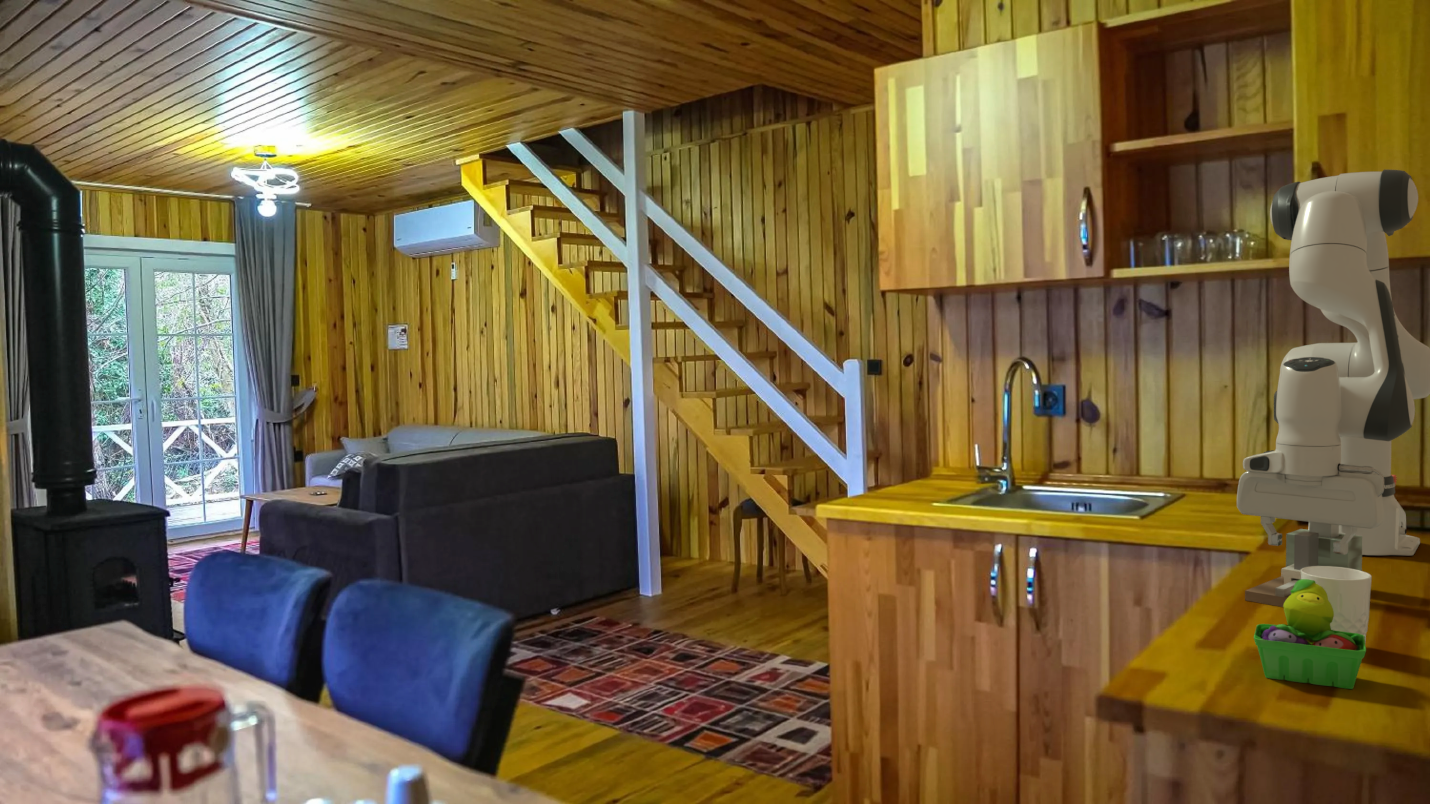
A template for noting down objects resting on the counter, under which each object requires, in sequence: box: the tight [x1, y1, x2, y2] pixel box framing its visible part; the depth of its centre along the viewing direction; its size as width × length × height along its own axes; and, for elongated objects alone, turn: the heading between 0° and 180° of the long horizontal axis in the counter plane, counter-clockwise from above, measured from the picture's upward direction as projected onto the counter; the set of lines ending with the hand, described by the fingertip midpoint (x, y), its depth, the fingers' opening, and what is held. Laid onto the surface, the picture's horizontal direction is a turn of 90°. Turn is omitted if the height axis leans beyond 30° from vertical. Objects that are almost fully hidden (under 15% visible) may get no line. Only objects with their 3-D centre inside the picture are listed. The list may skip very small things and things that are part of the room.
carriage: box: [1280, 531, 1319, 584], centre depth 157 cm, size 6×5×8 cm
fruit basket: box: [1253, 579, 1367, 690], centre depth 121 cm, size 11×9×11 cm
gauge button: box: [1308, 522, 1339, 538], centre depth 161 cm, size 5×5×4 cm
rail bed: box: [1244, 528, 1363, 608], centre depth 157 cm, size 20×10×8 cm, turn 129°
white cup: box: [1301, 566, 1372, 643], centre depth 131 cm, size 8×8×10 cm
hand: (1307, 549), depth 157 cm, fingers open, 8 cm apart
